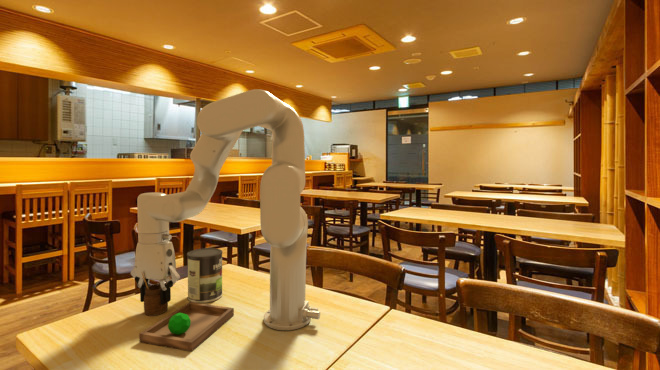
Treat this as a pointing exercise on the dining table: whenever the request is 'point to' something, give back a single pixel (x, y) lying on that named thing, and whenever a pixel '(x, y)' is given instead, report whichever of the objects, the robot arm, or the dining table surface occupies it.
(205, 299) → the coffee can
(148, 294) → the utensil holder
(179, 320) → the polyhedron
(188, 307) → the tray
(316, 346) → the dining table surface
